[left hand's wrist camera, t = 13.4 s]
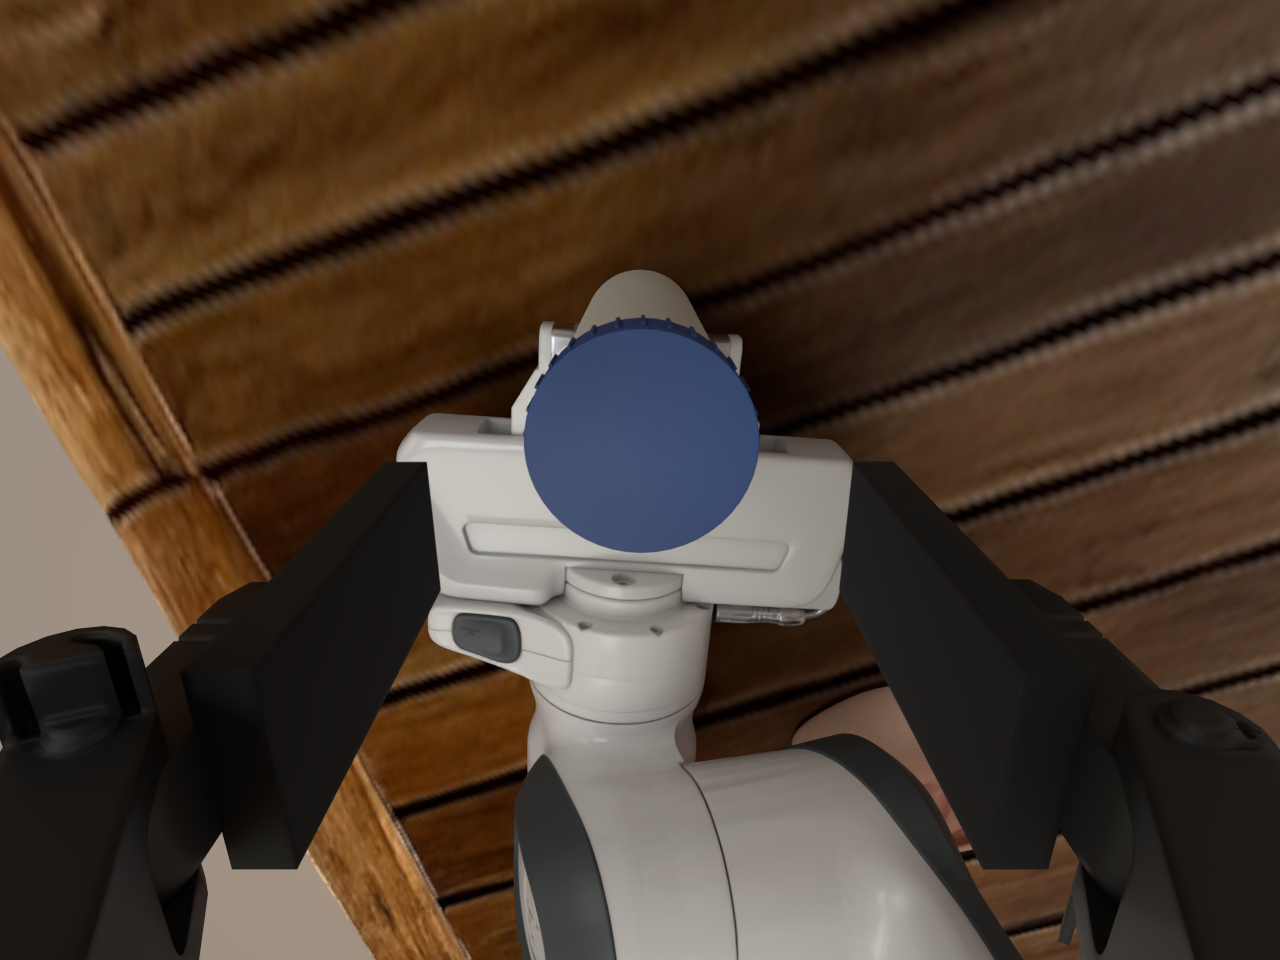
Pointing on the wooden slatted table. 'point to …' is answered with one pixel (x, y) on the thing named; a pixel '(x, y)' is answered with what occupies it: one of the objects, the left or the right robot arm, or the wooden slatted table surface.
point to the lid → (641, 435)
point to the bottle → (639, 301)
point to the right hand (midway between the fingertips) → (640, 329)
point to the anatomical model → (882, 741)
